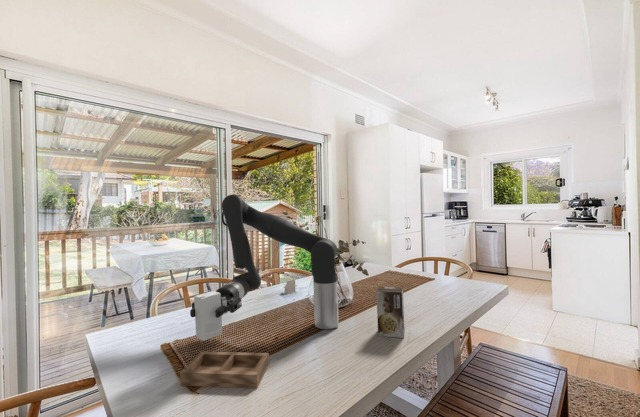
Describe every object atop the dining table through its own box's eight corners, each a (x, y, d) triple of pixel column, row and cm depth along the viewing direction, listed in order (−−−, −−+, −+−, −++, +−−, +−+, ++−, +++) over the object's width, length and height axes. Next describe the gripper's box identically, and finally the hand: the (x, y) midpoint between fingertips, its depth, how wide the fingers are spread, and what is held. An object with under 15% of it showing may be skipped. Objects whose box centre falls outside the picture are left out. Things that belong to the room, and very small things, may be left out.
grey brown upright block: (405, 331, 110) (403, 287, 110) (403, 338, 104) (402, 292, 104) (379, 328, 113) (378, 285, 113) (377, 335, 107) (376, 290, 107)
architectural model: (283, 293, 163) (282, 280, 163) (293, 291, 168) (293, 277, 168) (286, 295, 161) (286, 281, 161) (297, 292, 165) (296, 278, 165)
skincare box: (215, 330, 90) (213, 289, 89) (223, 334, 87) (221, 292, 86) (194, 338, 85) (193, 295, 85) (202, 342, 82) (201, 298, 82)
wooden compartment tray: (269, 364, 89) (268, 353, 89) (257, 388, 78) (256, 374, 78) (201, 363, 92) (201, 351, 92) (180, 385, 80) (180, 372, 80)
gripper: (208, 284, 101) (179, 300, 84) (249, 284, 99) (228, 300, 82) (209, 306, 101) (180, 327, 84) (250, 306, 99) (229, 328, 83)
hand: (204, 314), depth 83 cm, fingers closed on skincare box, 6 cm apart
